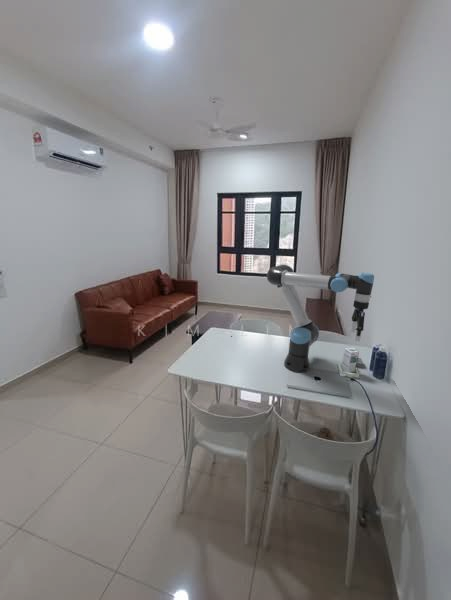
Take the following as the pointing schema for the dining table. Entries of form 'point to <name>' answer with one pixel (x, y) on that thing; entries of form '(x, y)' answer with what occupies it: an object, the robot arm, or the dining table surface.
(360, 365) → the grey box
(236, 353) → the dining table surface
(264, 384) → the dining table surface
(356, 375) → the white green flat box
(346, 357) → the syrup box
